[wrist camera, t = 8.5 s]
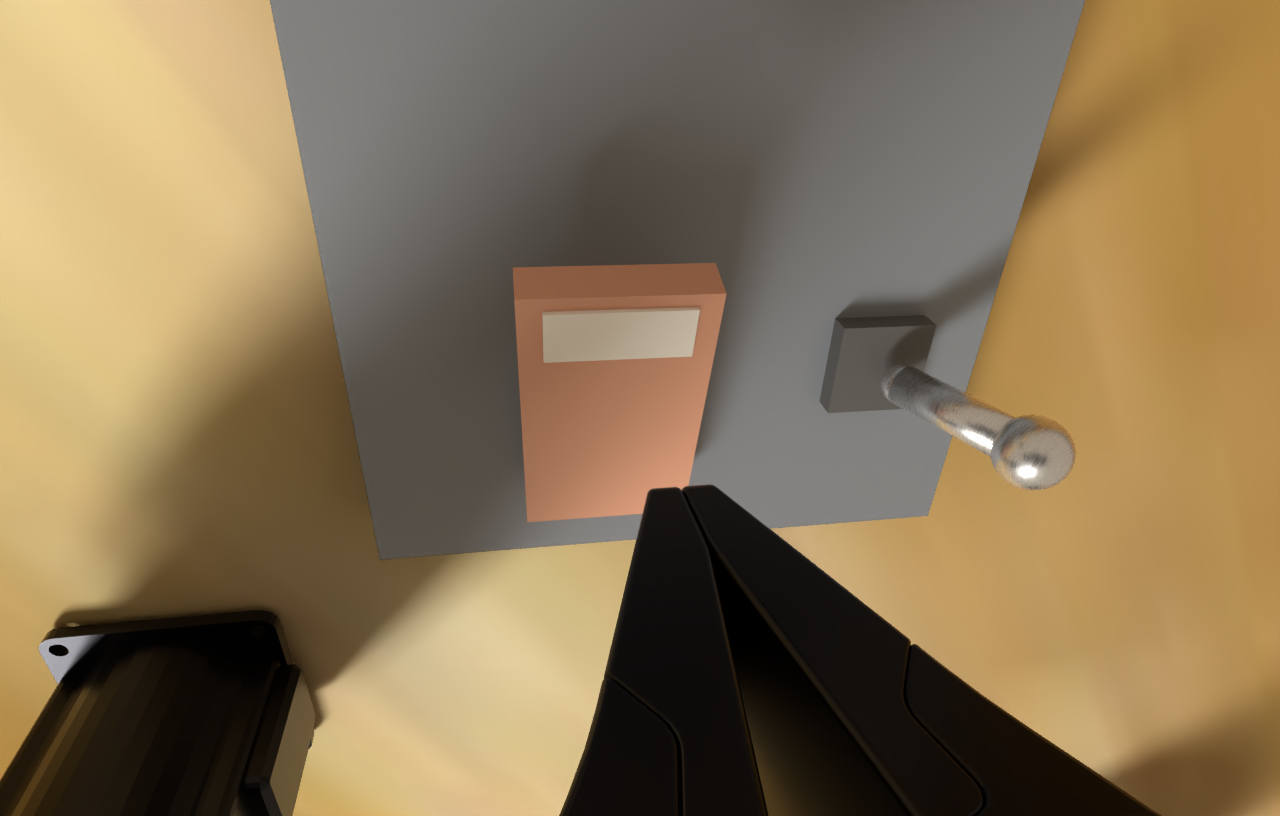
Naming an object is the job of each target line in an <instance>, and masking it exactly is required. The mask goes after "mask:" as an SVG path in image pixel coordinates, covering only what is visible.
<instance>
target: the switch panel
mask: <svg viewBox="0 0 1280 816" xmlns="http://www.w3.org/2000/svg"><path fill="white" fill-rule="evenodd" d="M1084 2H1085V0H270V4H271V9H272V14H273V19H274V24H275V29H276V34H277V39H278V44H279V49H280V54H281V59H282V65H283V70H284V75H285V80H286V85H287V90H288V95H289V100H290V105H291V110H292V115H293V120H294V126H295V131H296V136H297V141H298V146H299V151H300V156H301V161H302V166H303V171H304V176H305V181H306V187H307V192H308V197H309V202H310V207H311V212H312V217H313V222H314V227H315V232H316V237H317V243H318V248H319V253H320V258H321V263H322V268H323V273H324V278H325V283H326V288H327V293H328V298H329V304H330V309H331V314H332V319H333V324H334V329H335V334H336V339H337V344H338V349H339V354H340V359H341V365H342V370H343V375H344V380H345V385H346V390H347V395H348V400H349V405H350V410H351V415H352V420H353V426H354V431H355V436H356V441H357V446H358V451H359V456H360V461H361V466H362V471H363V476H364V481H365V487H366V492H367V497H368V502H369V507H370V512H371V517H372V522H373V527H374V532H375V537H376V542H377V548H378V553H379V558H380V560H385V559H397V558H410V557H422V556H434V555H447V554H459V553H472V552H484V551H497V550H509V549H522V548H534V547H546V546H559V545H571V544H584V543H596V542H609V541H621V540H634V539H637V535H638V531H639V527H640V523H641V518H642V514H632V515H619V516H605V517H592V518H579V519H565V520H552V521H539V522H527V507H526V490H525V473H524V456H523V440H522V423H521V406H520V389H519V372H518V355H517V338H516V321H515V304H514V283H513V267H554V266H598V265H642V264H686V263H716V266H717V268H718V271H719V274H720V277H721V279H722V282H723V285H724V288H725V290H726V293H727V294H726V299H725V304H724V309H723V314H722V320H721V325H720V330H719V335H718V340H717V345H716V350H715V355H714V360H713V365H712V370H711V375H710V380H709V385H708V390H707V395H706V400H705V405H704V410H703V415H702V420H701V425H700V430H699V435H698V440H697V445H696V450H695V455H694V460H693V465H692V470H691V475H690V480H689V485H688V486H693V485H707V484H711V485H714V486H716V487H717V488H719V489H720V490H721V491H722V492H724V493H725V494H726V495H728V496H729V497H730V498H731V499H733V500H734V501H735V502H736V503H738V504H739V505H740V506H741V507H743V508H744V509H745V510H747V511H748V512H749V513H750V514H752V515H753V516H754V517H755V518H757V519H758V520H759V521H760V522H762V523H763V524H764V525H766V526H767V527H768V528H769V529H770V528H783V527H795V526H808V525H820V524H833V523H845V522H857V521H870V520H882V519H895V518H907V517H920V516H928V514H929V510H930V507H931V504H932V500H933V497H934V494H935V491H936V487H937V484H938V481H939V478H940V474H941V471H942V468H943V464H944V461H945V458H946V455H947V451H948V448H949V445H950V441H951V438H952V435H950V434H948V433H946V432H944V431H943V430H941V429H939V428H937V427H935V426H934V425H932V424H930V423H928V422H926V421H925V420H923V419H921V418H919V417H917V416H916V415H914V414H912V413H910V412H908V411H906V410H905V409H903V408H901V407H899V406H897V405H896V404H894V403H892V402H890V401H889V400H888V399H887V398H886V397H885V396H884V394H883V392H882V389H881V380H882V377H883V375H884V373H885V372H886V371H887V370H888V369H889V368H891V367H892V366H895V365H898V364H907V365H911V366H913V367H915V368H917V369H919V370H921V371H923V372H925V373H927V374H929V375H931V376H933V377H935V378H937V379H939V380H941V381H943V382H945V383H947V384H949V385H951V386H953V387H955V388H957V389H959V390H961V391H963V392H966V389H967V386H968V383H969V379H970V376H971V373H972V369H973V366H974V363H975V360H976V356H977V353H978V350H979V346H980V343H981V340H982V337H983V333H984V330H985V327H986V324H987V320H988V317H989V314H990V310H991V307H992V304H993V301H994V297H995V294H996V291H997V288H998V284H999V281H1000V278H1001V274H1002V271H1003V268H1004V265H1005V261H1006V258H1007V255H1008V251H1009V248H1010V245H1011V242H1012V238H1013V235H1014V232H1015V229H1016V225H1017V222H1018V219H1019V215H1020V212H1021V209H1022V206H1023V202H1024V199H1025V196H1026V193H1027V189H1028V186H1029V183H1030V179H1031V176H1032V173H1033V170H1034V166H1035V163H1036V160H1037V156H1038V153H1039V150H1040V147H1041V143H1042V140H1043V137H1044V134H1045V130H1046V127H1047V124H1048V120H1049V117H1050V114H1051V111H1052V107H1053V104H1054V101H1055V97H1056V94H1057V91H1058V88H1059V84H1060V81H1061V78H1062V75H1063V71H1064V68H1065V65H1066V61H1067V58H1068V55H1069V52H1070V48H1071V45H1072V42H1073V39H1074V35H1075V32H1076V29H1077V25H1078V22H1079V19H1080V16H1081V12H1082V9H1083V6H1084Z"/></svg>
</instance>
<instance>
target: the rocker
mask: <svg viewBox="0 0 1280 816" xmlns="http://www.w3.org/2000/svg"><path fill="white" fill-rule="evenodd" d="M513 283H514V304H515V321H516V338H517V355H518V372H519V389H520V406H521V423H522V440H523V456H524V473H525V490H526V507H527V522H539V521H552V520H565V519H579V518H592V517H605V516H619V515H632V514H643V510H644V506H645V502H646V497H647V493H648V491H649V490H650V489H653V488H665V487H678V488H680V489H681V490H682V489H683V488H684V487H685V486H688V485H689V480H690V475H691V470H692V465H693V460H694V455H695V450H696V445H697V440H698V435H699V430H700V425H701V420H702V415H703V410H704V405H705V400H706V395H707V390H708V385H709V380H710V375H711V370H712V365H713V360H714V355H715V350H716V345H717V340H718V335H719V330H720V325H721V320H722V314H723V309H724V304H725V299H726V294H727V293H726V290H725V288H724V285H723V282H722V279H721V277H720V274H719V271H718V268H717V266H716V263H686V264H642V265H598V266H554V267H513Z"/></svg>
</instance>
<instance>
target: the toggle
mask: <svg viewBox="0 0 1280 816" xmlns="http://www.w3.org/2000/svg"><path fill="white" fill-rule="evenodd" d="M881 389H882V392H883V394H884V396H885V397H886V398H887V399H888V400H889V401H890V402H892V403H894V404H896V405H897V406H899V407H901V408H903V409H905V410H906V411H908V412H910V413H912V414H914V415H916V416H917V417H919V418H921V419H923V420H925V421H926V422H928V423H930V424H932V425H934V426H935V427H937V428H939V429H941V430H943V431H944V432H946V433H948V434H950V435H952V436H953V437H955V438H957V439H959V440H961V441H963V442H964V443H966V444H968V445H970V446H972V447H973V448H975V449H977V450H979V451H981V452H982V453H984V454H986V455H988V456H990V457H991V461H992V464H993V466H994V468H995V470H996V472H997V473H998V474H999V475H1000V476H1001V478H1003V479H1004V480H1005V481H1006V482H1008V483H1009V484H1011V485H1013V486H1015V487H1017V488H1020V489H1025V490H1033V491H1034V490H1044V489H1048V488H1051V487H1053V486H1055V485H1057V484H1059V483H1060V482H1061V481H1063V480H1064V479H1065V478H1066V477H1067V476H1068V474H1069V473H1070V472H1071V470H1072V468H1073V465H1074V462H1075V457H1076V451H1075V445H1074V442H1073V440H1072V438H1071V436H1070V434H1069V433H1068V431H1067V430H1066V429H1065V428H1064V427H1063V426H1062V425H1060V424H1059V423H1058V422H1056V421H1054V420H1052V419H1050V418H1047V417H1044V416H1039V415H1024V416H1020V417H1014V416H1012V415H1010V414H1008V413H1006V412H1004V411H1002V410H999V409H997V408H995V407H993V406H991V405H989V404H987V403H985V402H983V401H981V400H979V399H977V398H975V397H973V396H971V395H969V394H967V393H965V392H963V391H961V390H959V389H957V388H955V387H953V386H951V385H949V384H947V383H945V382H943V381H941V380H939V379H937V378H935V377H933V376H931V375H929V374H927V373H925V372H923V371H921V370H919V369H917V368H915V367H913V366H911V365H907V364H898V365H895V366H892V367H891V368H889V369H888V370H887V371H886V372H885V373H884V375H883V377H882V380H881Z"/></svg>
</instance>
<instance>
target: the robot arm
mask: <svg viewBox="0 0 1280 816" xmlns="http://www.w3.org/2000/svg"><path fill="white" fill-rule="evenodd" d="M258 626H262V627H264V628H260V627H258ZM910 646H911V647H910ZM39 651H40V654H41V655H42V657H43V659H44V661H45V662H46V664H47V666H48V668H49V669H50V671H51V673H52V675H53V677H54V678H55V680H56V682H57V684H58V685H57V687H56V689H55V690H54V692H53V694H52V695H51V697H50V699H49V700H48V702H47V704H46V705H45V707H44V708H43V710H42V712H41V713H40V715H39V717H38V718H37V720H36V722H35V723H34V725H33V727H32V728H31V730H30V732H29V733H28V735H27V737H26V738H25V740H24V741H23V743H22V745H21V746H20V748H19V750H18V751H17V753H16V755H15V756H14V758H13V760H12V761H11V763H10V765H9V766H8V768H7V770H6V771H5V773H4V774H3V776H2V778H1V779H0V816H292V815H293V810H294V806H295V802H296V798H297V794H298V790H299V786H300V781H301V777H302V773H303V769H304V765H305V761H306V757H307V753H308V749H309V748H310V747H311V746H312V741H313V737H314V730H313V728H314V724H315V720H316V714H315V711H314V708H313V705H312V701H311V698H310V695H309V691H308V688H307V685H306V681H305V678H304V675H303V671H302V669H301V668H300V667H299V666H298V665H297V664H293V662H292V659H291V655H290V652H289V649H288V646H287V642H286V639H285V636H284V633H283V629H282V626H281V623H280V620H279V618H278V617H277V616H276V615H275V614H273V613H271V612H268V611H261V610H258V611H247V612H235V613H224V614H213V615H201V616H190V617H179V618H167V619H156V620H145V621H133V622H122V623H111V624H99V625H88V626H77V627H65V628H57V629H53V630H51V631H50V632H48V633H47V635H46V636H45V638H44V639H43V641H42V642H41V644H40V646H39ZM559 816H1162V815H1160V814H1159V813H1157V812H1155V811H1154V810H1152V809H1151V808H1149V807H1148V806H1146V805H1145V804H1143V803H1142V802H1140V801H1139V800H1137V799H1136V798H1134V797H1133V796H1131V795H1130V794H1128V793H1127V792H1125V791H1124V790H1122V789H1121V788H1119V787H1118V786H1116V785H1115V784H1113V783H1112V782H1110V781H1109V780H1107V779H1106V778H1104V777H1103V776H1101V775H1100V774H1098V773H1096V772H1095V771H1093V770H1092V769H1090V768H1089V767H1087V766H1086V765H1084V764H1083V763H1081V762H1080V761H1078V760H1077V759H1075V758H1074V757H1072V756H1071V755H1069V754H1068V753H1066V752H1065V751H1063V750H1062V749H1060V748H1059V747H1057V746H1056V745H1054V744H1053V743H1051V742H1050V741H1048V740H1047V739H1045V738H1044V737H1042V736H1041V735H1039V734H1038V733H1036V732H1035V731H1033V730H1032V729H1030V728H1029V727H1028V726H1026V725H1025V724H1023V723H1022V722H1020V721H1019V720H1017V719H1016V718H1015V717H1013V716H1012V715H1010V714H1009V713H1007V712H1006V711H1005V710H1003V709H1002V708H1000V707H999V706H997V705H996V704H994V703H993V702H992V701H990V700H989V699H987V698H986V697H984V696H983V695H982V694H980V693H979V692H978V691H976V690H975V689H974V688H972V687H971V686H970V685H968V684H967V683H966V682H964V681H963V680H962V679H960V678H959V677H958V676H956V675H955V674H954V673H952V672H951V671H950V670H948V669H947V668H946V667H944V666H943V665H942V664H941V663H939V662H938V661H937V660H935V659H934V658H933V657H932V656H930V655H929V654H928V653H927V652H925V651H924V650H923V649H922V648H920V647H919V646H918V645H916V644H913V645H911V641H910V639H909V638H907V637H906V636H905V635H903V634H902V633H901V632H900V631H898V630H897V629H896V628H895V627H893V626H892V625H891V624H890V623H888V622H887V621H886V620H884V619H883V618H882V617H881V616H879V615H878V614H877V613H876V612H874V611H873V610H872V609H871V608H869V607H868V606H867V605H865V604H864V603H863V602H862V601H860V600H859V599H858V598H857V597H855V596H854V595H853V594H852V593H850V592H849V591H848V590H847V589H845V588H844V587H843V586H841V585H840V584H839V583H838V582H836V581H835V580H834V579H833V578H831V577H830V576H829V575H828V574H826V573H825V572H824V571H822V570H821V569H820V568H819V567H817V566H816V565H815V564H814V563H812V562H811V561H810V560H809V559H807V558H806V557H805V556H803V555H802V554H801V553H800V552H798V551H797V550H796V549H795V548H793V547H792V546H791V545H790V544H788V543H787V542H786V541H784V540H783V539H782V538H781V537H779V536H778V535H777V534H776V533H774V532H773V531H772V530H771V529H769V528H768V527H767V526H766V525H764V524H763V523H762V522H760V521H759V520H758V519H757V518H755V517H754V516H753V515H752V514H750V513H749V512H748V511H747V510H745V509H744V508H743V507H741V506H740V505H739V504H738V503H736V502H735V501H734V500H733V499H731V498H730V497H729V496H728V495H726V494H725V493H724V492H722V491H721V490H720V489H719V488H717V487H716V486H714V485H711V484H707V485H693V486H685V487H684V488H683V489H682V490H681V489H680V488H678V487H665V488H653V489H650V490H649V491H648V493H647V497H646V502H645V506H644V510H643V514H642V518H641V523H640V527H639V531H638V535H637V539H636V544H635V548H634V552H633V556H632V561H631V565H630V569H629V573H628V577H627V582H626V586H625V590H624V594H623V598H622V603H621V607H620V611H619V615H618V620H617V624H616V628H615V632H614V636H613V641H612V645H611V649H610V653H609V657H608V662H607V666H606V670H605V674H604V680H603V682H602V685H601V689H600V694H599V698H598V702H597V706H596V710H595V714H594V717H593V721H592V724H591V728H590V732H589V735H588V739H587V742H586V746H585V749H584V752H583V755H582V757H581V760H580V763H579V765H578V768H577V771H576V774H575V776H574V779H573V782H572V785H571V787H570V790H569V793H568V796H567V798H566V801H565V803H564V806H563V808H562V810H561V813H560V815H559Z"/></svg>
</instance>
